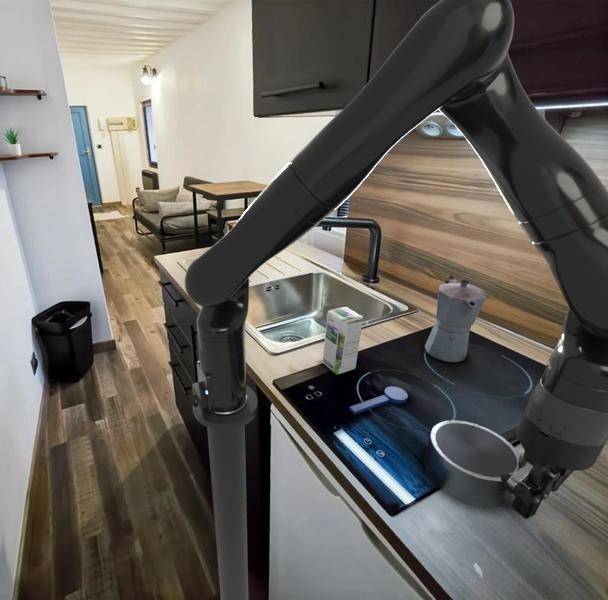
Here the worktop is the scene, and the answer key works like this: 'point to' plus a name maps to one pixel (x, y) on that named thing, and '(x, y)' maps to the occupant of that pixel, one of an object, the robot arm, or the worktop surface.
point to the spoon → (381, 400)
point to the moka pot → (454, 319)
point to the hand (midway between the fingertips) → (521, 511)
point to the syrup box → (342, 339)
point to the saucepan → (471, 462)
